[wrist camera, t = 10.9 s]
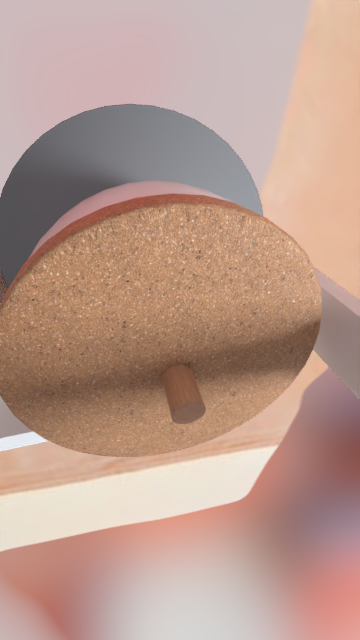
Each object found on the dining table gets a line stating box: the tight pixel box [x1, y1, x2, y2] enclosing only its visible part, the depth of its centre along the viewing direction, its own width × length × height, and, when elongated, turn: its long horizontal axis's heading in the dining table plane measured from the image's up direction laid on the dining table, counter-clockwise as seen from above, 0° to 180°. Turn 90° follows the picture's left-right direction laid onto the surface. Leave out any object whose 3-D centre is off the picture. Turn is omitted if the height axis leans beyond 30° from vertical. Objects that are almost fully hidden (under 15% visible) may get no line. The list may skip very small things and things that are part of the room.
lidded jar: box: [0, 180, 322, 457], centre depth 12 cm, size 11×11×9 cm
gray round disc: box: [0, 104, 263, 288], centre depth 15 cm, size 14×14×1 cm
